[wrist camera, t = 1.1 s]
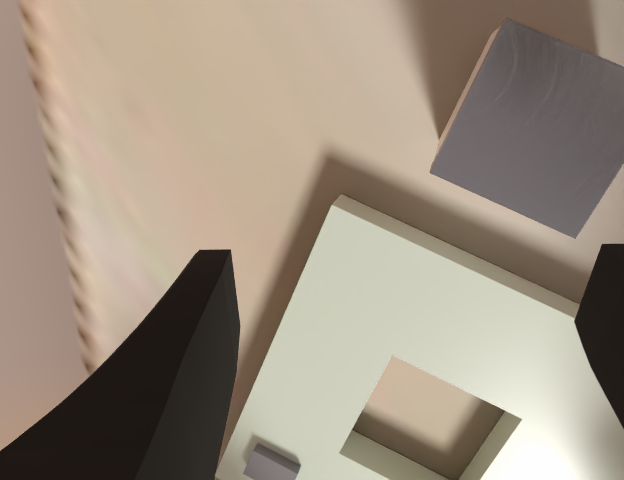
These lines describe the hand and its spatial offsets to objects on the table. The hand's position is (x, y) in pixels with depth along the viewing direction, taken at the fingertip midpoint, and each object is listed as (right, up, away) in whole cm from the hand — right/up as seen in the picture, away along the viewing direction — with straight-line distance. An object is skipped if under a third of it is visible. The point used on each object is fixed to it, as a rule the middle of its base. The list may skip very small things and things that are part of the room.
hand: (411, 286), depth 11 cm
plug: (+6, +6, +10) cm, 13 cm away
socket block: (+4, -7, +15) cm, 17 cm away
